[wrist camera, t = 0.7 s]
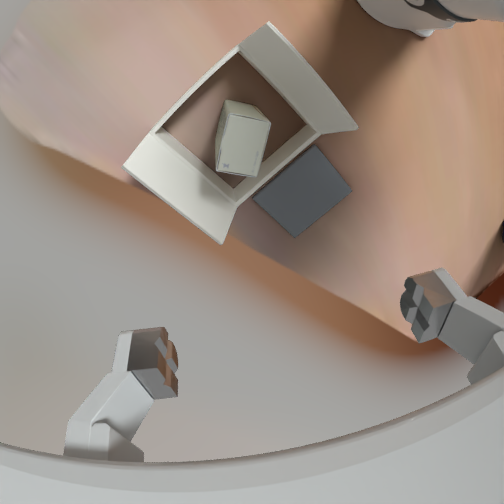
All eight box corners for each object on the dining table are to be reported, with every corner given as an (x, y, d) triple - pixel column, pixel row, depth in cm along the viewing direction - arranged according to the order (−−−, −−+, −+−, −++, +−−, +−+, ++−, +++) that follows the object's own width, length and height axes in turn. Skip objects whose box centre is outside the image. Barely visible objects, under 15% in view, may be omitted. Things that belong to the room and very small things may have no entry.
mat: (314, 143, 42) (315, 145, 41) (350, 189, 47) (352, 191, 46) (252, 197, 45) (252, 199, 45) (293, 236, 50) (294, 238, 50)
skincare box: (245, 146, 41) (257, 180, 31) (213, 141, 40) (214, 173, 30) (256, 103, 37) (274, 122, 28) (223, 97, 36) (228, 112, 27)
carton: (255, 29, 31) (269, 21, 23) (329, 110, 39) (359, 127, 31) (138, 143, 38) (120, 168, 30) (217, 208, 46) (220, 246, 38)
